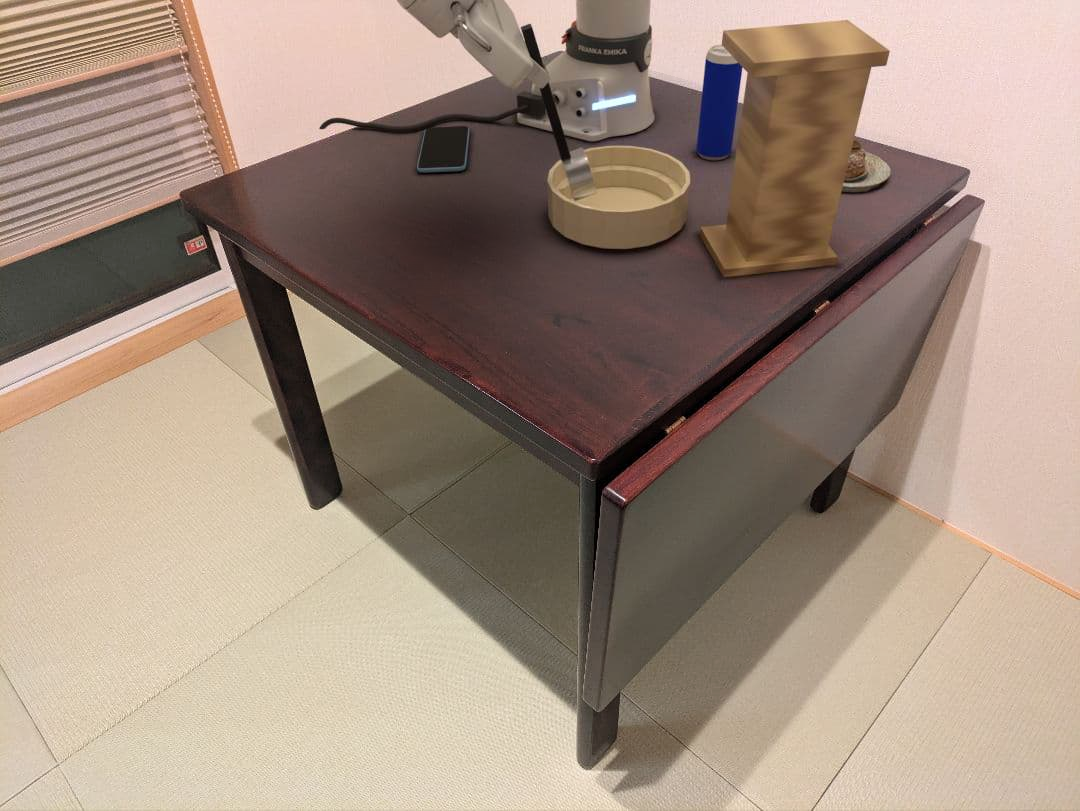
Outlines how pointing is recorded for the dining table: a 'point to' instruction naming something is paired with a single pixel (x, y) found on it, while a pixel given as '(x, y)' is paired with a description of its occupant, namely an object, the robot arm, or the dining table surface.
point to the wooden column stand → (792, 143)
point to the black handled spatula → (562, 133)
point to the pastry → (864, 170)
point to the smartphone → (444, 149)
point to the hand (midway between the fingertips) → (543, 77)
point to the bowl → (622, 198)
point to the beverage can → (718, 104)
